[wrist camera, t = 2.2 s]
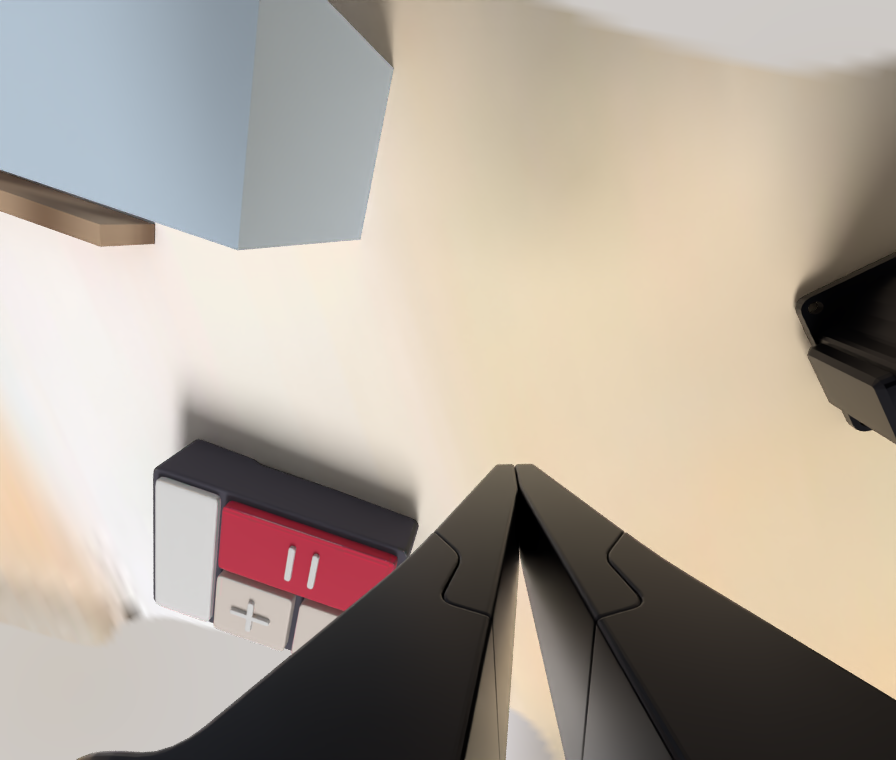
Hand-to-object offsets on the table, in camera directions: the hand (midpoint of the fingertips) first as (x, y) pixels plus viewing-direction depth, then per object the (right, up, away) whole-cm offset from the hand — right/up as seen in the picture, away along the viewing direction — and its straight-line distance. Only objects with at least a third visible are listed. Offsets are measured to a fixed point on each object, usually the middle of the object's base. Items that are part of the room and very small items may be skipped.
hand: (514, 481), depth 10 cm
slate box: (-12, +15, +10) cm, 22 cm away
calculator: (-11, -8, +19) cm, 24 cm away
